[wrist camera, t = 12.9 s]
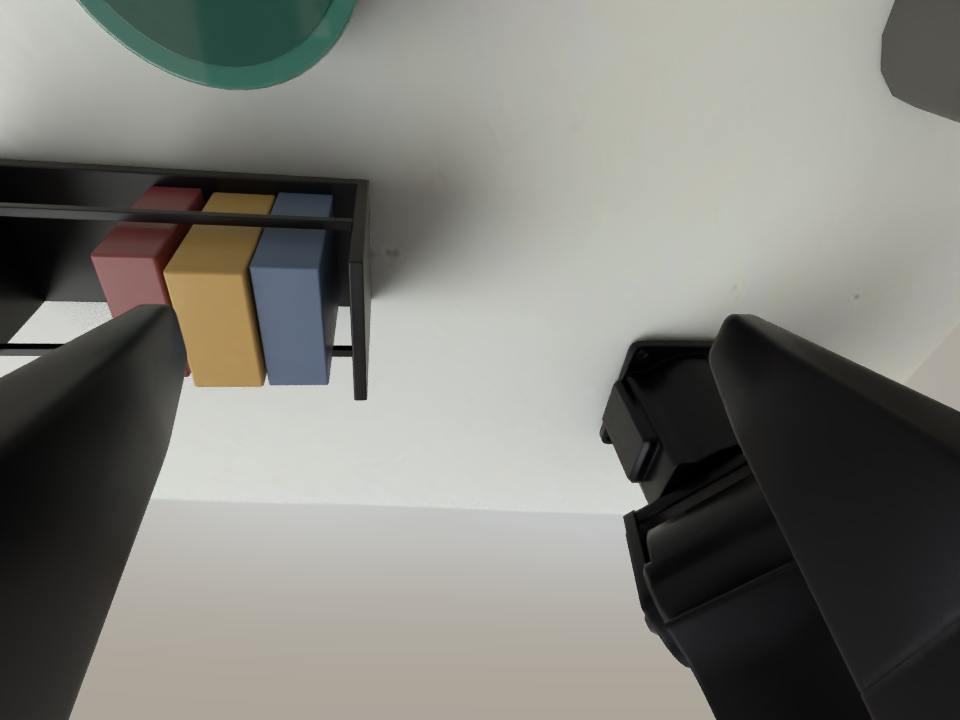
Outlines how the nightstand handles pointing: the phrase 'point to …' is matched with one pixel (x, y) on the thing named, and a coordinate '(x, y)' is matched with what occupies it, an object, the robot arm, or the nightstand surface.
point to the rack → (109, 199)
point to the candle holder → (924, 55)
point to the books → (232, 285)
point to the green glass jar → (226, 36)
